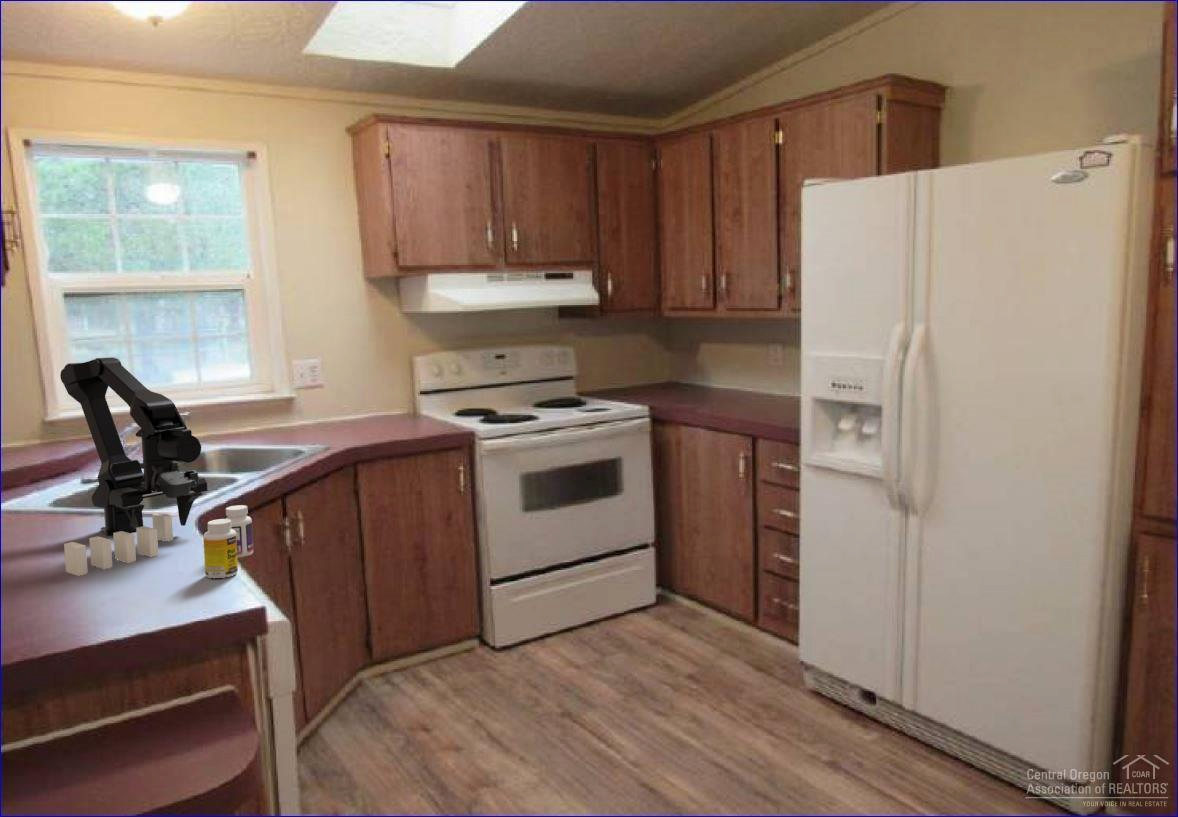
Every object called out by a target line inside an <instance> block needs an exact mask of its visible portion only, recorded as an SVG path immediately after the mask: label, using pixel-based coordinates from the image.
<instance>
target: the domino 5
mask: <svg viewBox="0 0 1178 817" xmlns="http://www.w3.org/2000/svg"><path fill="white" fill-rule="evenodd" d="M151 516H152V517H151V518H152V528H154V529H157V537H158V539H160V540H164V541H168V540H172V539H173V540H174V531H173V530H174V529H173V516H172V515H170V514H165V513H162V512H157V513H153V514H152V515H151ZM160 540H159V541H160ZM173 540H172V541H173ZM164 541H163V542H164ZM168 542H169V541H168Z"/></svg>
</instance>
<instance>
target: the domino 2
mask: <svg viewBox="0 0 1178 817" xmlns="http://www.w3.org/2000/svg"><path fill="white" fill-rule="evenodd" d="M89 550H90V552H89V553H90V554H89V555H90V566H91V565H93V566H92V567H94V566H97V567H99V568H98V569H101V568H102V569H101V570H107V569H106V568H108V569H111V568H110V567H112V568H113V555H112V554H113V552H112V539H109V538H105V537H102V536H98V535H97V536H93V537H89ZM97 567H96V568H97Z"/></svg>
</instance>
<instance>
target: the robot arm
mask: <svg viewBox="0 0 1178 817" xmlns="http://www.w3.org/2000/svg"><path fill="white" fill-rule="evenodd" d="M59 375H60V380H61V383H62V384H63V385H64V386H63V387H65V390H66V392H67V395H69V396H70V397H71V398H73V399H74V400H75V401H76V402H77V403H79V404H80V406H81V409H82V411H83V414H84V417H85V420H86V423H87V426H88V428H89V431H90V435H91V438H92V440H93V443H94V446H95V449H96V453H97V454H98V458H99V461H100V463H101V465H100V468H99V471H98V474H97V481H98V485H97V487H96V489H95V491H94V492H93V494H92V495H91V501H92V505H93V506H94V507H96V508H103V512H104V513H103V514H104V526H102V527H100V530H101V531H102V532H103V533H104V534H105V535H106V534H107V535H106V536H112V534H113V533H115V532H120V531H123V532H127V533H130V532H137V531H136V528H138V527H142V526H144V519H143V510H144V509H145V504H141V503H142V502H143V501H144V499H147V498H153V497H157V496H162V495H165V497H167V498H169V499H174V498H175V499H176V504H177V512H178V519H179V523H180V526H182V527H184V526H186V525H187V524H186V523H187V520H188V518H189V515H190V512H191V510H192V506H193V505H194V502H195V501H196V499H198V498H199V497H201V496H202V495H203V494H204V492H207V491H209V482H208V481H207V479H206V478H205V477H200V476H199V473H198V471H196V470H195V469H192V470H186V471H184V472H183V471H182V472H180V470H179V465H178V462H180V463H186V464H187V463H188V464H189V463H193V462H194V461H196V460H197V459H198V458H199V457H200V455H201V452H202V444H201V443H200V440H199V439H198V437H196V436H194V435H193V434H192V432H193V431H192V429H191V428H190V429H188V427H187V425H186V422H185V420H184V418H182V415H181V414H180V412H179V411H178V408H177V406H176V405H175V403H174V402H173V401H172V400H171V399H170V398H169V397H167V396H166V395H163V394H161V393H158V392H154V391H151V390H150V389H148V388H147V387H146V386H145V385H144V384H143V383H142V382H140V380H138V378H136V376H134V375H133V374H132V373H131V372H130V371H128V370H127V369H126V367H124V366H123V365H122V362H121V360H120V359H118V358H116V357H112V356H111V357H96V358H94V359H91V360H88V361H85V362H73V363H72V362H71V363H69V362H68V363H67V364H66V365H65V366H64V367H63V369H61V371H60V374H59ZM108 388H110V389H111V390H112V391H113V392H114V393H115V394H117V396H118V397H119V398H120V399H121V400H123V401H124V402H125V403H126V404H127V405H128V407H129V416H130V417H131V418H132V420H133V421H134V422H135V423H136V425H137V426H138V427H139V428H140V429H139V430H138V431H136V433H134V434H135V435H134V436H136V437H137V438H141V447H142V450H141V451H142V452H141V453H142V463H140V461H139V460H138V459H131V458H129V457H128V456H127V454H126V451H125V449H124V446H123V443H122V440H121V438H120V435H119V433H118V432H119V431H118V429H117V426H116V424H115V421H114V418H113V416H112V413H111V412H112V411H111V409H110V407H109V404H108V401H107V397H106V394H107V392H108ZM142 469H143V470H142Z"/></svg>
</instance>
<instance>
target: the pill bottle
mask: <svg viewBox="0 0 1178 817" xmlns="http://www.w3.org/2000/svg"><path fill="white" fill-rule="evenodd" d="M248 511H249V510H248V505H245V504H244V505H243V504H241V505H240V504H239V505H230V506H227V507H226V508H225V516H226V518H225V519H229V520H231V525H232V526H231V529H233V530H235V531H236V538H237V559H239V558H245V557H249V556H251V555H253V553H254V537H253V535H254V534H253V533H254V532H253V520H252V518H251V516H248V514H249V512H248Z"/></svg>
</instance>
